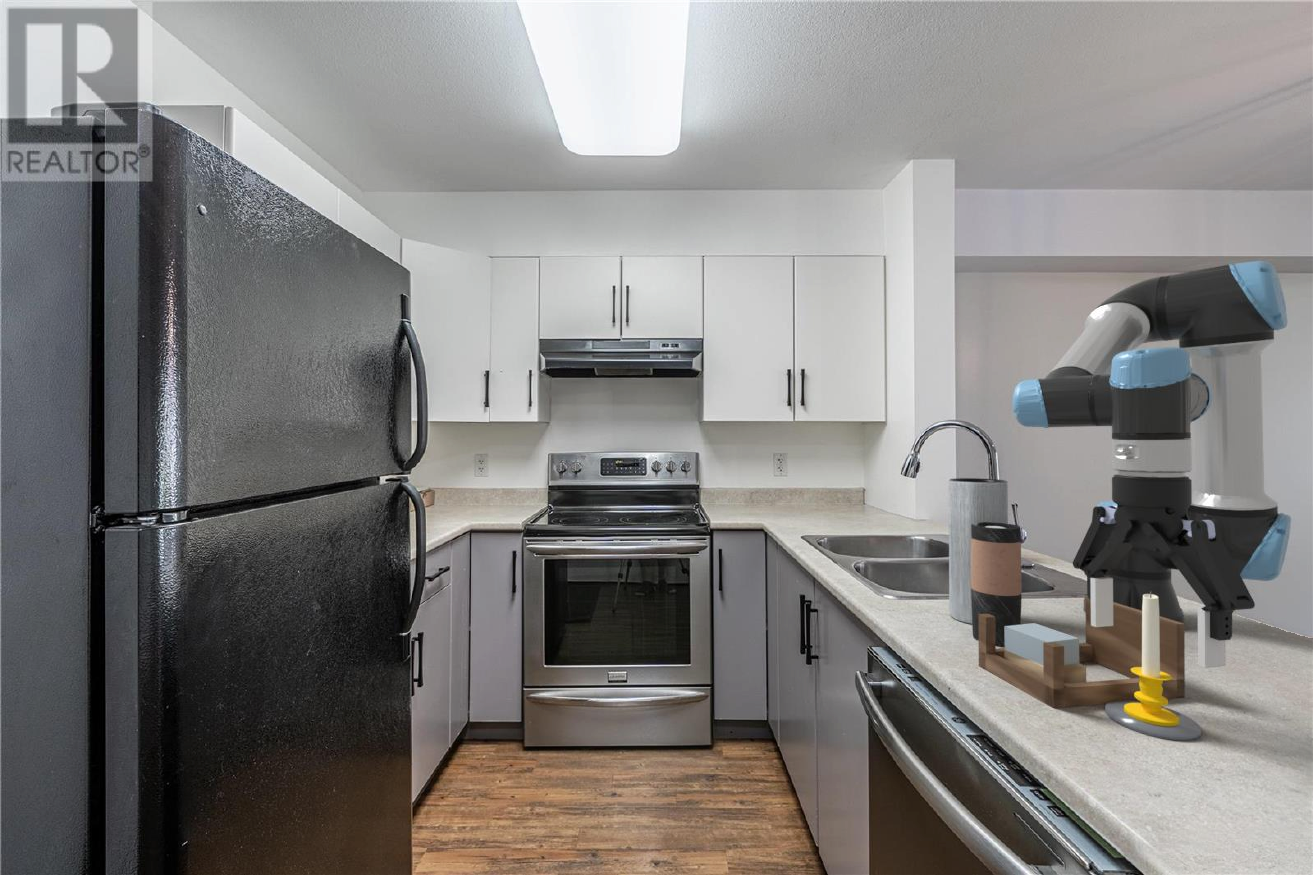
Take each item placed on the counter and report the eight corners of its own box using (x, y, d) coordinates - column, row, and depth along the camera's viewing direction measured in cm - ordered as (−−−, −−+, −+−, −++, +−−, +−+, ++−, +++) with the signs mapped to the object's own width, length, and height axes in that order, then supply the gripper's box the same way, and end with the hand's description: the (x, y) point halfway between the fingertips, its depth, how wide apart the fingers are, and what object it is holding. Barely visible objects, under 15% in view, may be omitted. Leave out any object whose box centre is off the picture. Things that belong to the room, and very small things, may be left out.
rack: (1092, 658, 92) (1092, 595, 92) (1184, 697, 78) (1184, 623, 78) (978, 665, 89) (978, 601, 89) (1053, 707, 75) (1053, 631, 75)
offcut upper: (1034, 646, 87) (1034, 623, 87) (1079, 663, 80) (1079, 638, 80) (1004, 649, 86) (1004, 626, 86) (1047, 667, 79) (1047, 642, 79)
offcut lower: (1040, 672, 87) (1040, 645, 87) (1086, 695, 79) (1086, 666, 79) (1004, 674, 86) (1004, 647, 86) (1047, 698, 78) (1047, 668, 78)
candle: (1178, 731, 68) (1178, 599, 68) (1122, 716, 71) (1121, 591, 71) (1179, 716, 72) (1179, 591, 72) (1125, 702, 75) (1125, 583, 75)
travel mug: (1029, 649, 96) (1029, 529, 96) (979, 645, 97) (979, 528, 97) (1011, 633, 103) (1010, 522, 103) (965, 630, 105) (964, 521, 105)
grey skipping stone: (1146, 702, 76) (1146, 697, 76) (1222, 737, 68) (1222, 732, 68) (1087, 707, 75) (1087, 702, 75) (1156, 743, 66) (1156, 738, 66)
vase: (1020, 622, 109) (1019, 480, 109) (983, 629, 105) (982, 482, 105) (973, 608, 118) (972, 477, 118) (937, 614, 115) (937, 479, 115)
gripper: (1042, 468, 83) (1043, 614, 83) (1240, 483, 58) (1241, 690, 59) (1087, 467, 84) (1089, 611, 84) (1301, 481, 60) (1302, 684, 60)
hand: (1151, 644), depth 72 cm, fingers open, 13 cm apart
